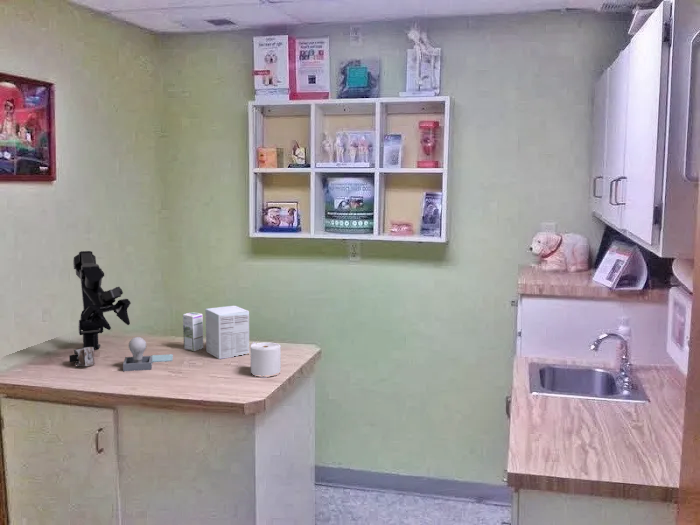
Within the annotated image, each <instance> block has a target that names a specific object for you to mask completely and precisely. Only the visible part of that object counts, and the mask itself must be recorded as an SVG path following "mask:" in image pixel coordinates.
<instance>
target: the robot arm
mask: <svg viewBox="0 0 700 525" xmlns="http://www.w3.org/2000/svg"><path fill="white" fill-rule="evenodd" d="M72 265H73V270H75V274H76V276H77V278H78V279H80V287H81V297H82V306H83V307H82V308H83V310H81V313H80V318H79V320H78V335H79V336H82V344H83V345H82V347H81V349H84V348H86V347H93V348H94V351H96V350H100V348H101V346H102V345H101V344H99V343H100V342H99V334H102V333H104V329H107V330H108V331H110V330H111V329H112V327H111V324H109V322H108V321H107V319H106V317H105V316H104V313H108V312H111V311H113V312H114V314H116V317H118V319H120V320H121V321H122V322H123V323H124V324H126V326H129V325H131V324H130V319H129V314H128V309H129V307H130V305H131V304H132V302H131V301H130V300H129V298H123V299H119V298H120V297H122V295H123V294H124V292H123V290H122V288H121V287H120V286H116V287H114V288H112V289H108V290H104V288H102V283H103V282H102V281H103V278H104V277H105V272H104V271H103V270H102V268H100V265H99V264H98V263H97V259H96V255H94V254H93V251H91V250H85V251H84V250H80V251H79V252H78V254H77V255H75V256H73V264H72ZM116 299H118V300H117V302H116ZM115 302H116V303H115ZM114 303H115V304H114Z"/></svg>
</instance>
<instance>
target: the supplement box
mask: <svg viewBox="0 0 700 525" xmlns="http://www.w3.org/2000/svg"><path fill="white" fill-rule="evenodd" d="M205 341H206V342H205V346H206V350H205V351H206V353H208V354H210V355H211V356H214V357H215V358H216V359H218V360H221V359H229V358H235V357H234V356H236V357H239V356H238V355H242V356H244V355H243V354H247V353H249V354H250V311H249V310H248V309H244V308H242V307H240V306H238V305H227V306H219V307H217V306H216V307H210V308H205Z"/></svg>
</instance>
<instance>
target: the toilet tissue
mask: <svg viewBox="0 0 700 525" xmlns="http://www.w3.org/2000/svg"><path fill="white" fill-rule="evenodd" d="M281 348H282V346H281V345H280V344H279V343H277V342H269V341H267V342H257V343H256V341H253V342H252V343H251V344H250V345H249V356H250V374H251V373H252V374H253V375H261V376H263V375H264V376H265V375H273V374H276V373H279V372H280V371H281V372H282V370H281V368H282V367H281V365H282V364H281V359H282V358H281V351H282V350H281ZM253 375H252V376H253Z"/></svg>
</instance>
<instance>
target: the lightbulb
mask: <svg viewBox="0 0 700 525" xmlns="http://www.w3.org/2000/svg"><path fill="white" fill-rule="evenodd" d="M146 349H147V342H146V340H145V339H144V338H143V337H140V336H136V337H132V339H131V340H130V341H129V343H128V350H129V351H130V353H131V354H132V357H133V359H134V363H142V357H143V356H144V352H145V351H146Z"/></svg>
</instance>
